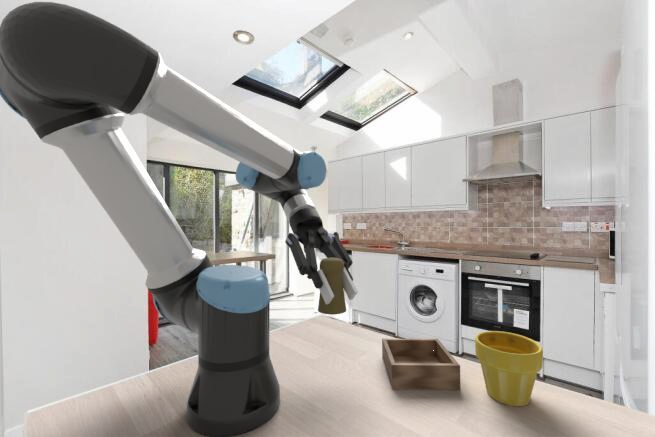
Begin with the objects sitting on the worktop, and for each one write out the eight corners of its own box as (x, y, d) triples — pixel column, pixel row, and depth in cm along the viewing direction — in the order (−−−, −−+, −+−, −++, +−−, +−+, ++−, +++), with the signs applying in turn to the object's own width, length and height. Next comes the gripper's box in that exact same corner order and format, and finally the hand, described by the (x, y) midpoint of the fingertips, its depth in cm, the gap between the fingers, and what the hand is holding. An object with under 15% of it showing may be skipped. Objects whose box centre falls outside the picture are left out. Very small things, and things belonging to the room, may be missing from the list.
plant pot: (542, 423, 47) (541, 359, 47) (470, 399, 53) (469, 343, 53) (544, 392, 55) (543, 338, 55) (481, 375, 61) (481, 326, 61)
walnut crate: (392, 389, 56) (391, 364, 56) (382, 358, 69) (382, 338, 69) (460, 389, 56) (460, 365, 56) (438, 358, 68) (437, 338, 69)
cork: (325, 304, 68) (325, 255, 68) (350, 308, 65) (350, 257, 65) (312, 312, 62) (312, 258, 62) (339, 316, 60) (339, 260, 60)
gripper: (328, 227, 82) (368, 301, 68) (264, 228, 72) (295, 315, 58) (339, 207, 77) (384, 282, 63) (272, 205, 67) (309, 293, 53)
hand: (342, 297), depth 61 cm, fingers closed on cork, 5 cm apart
